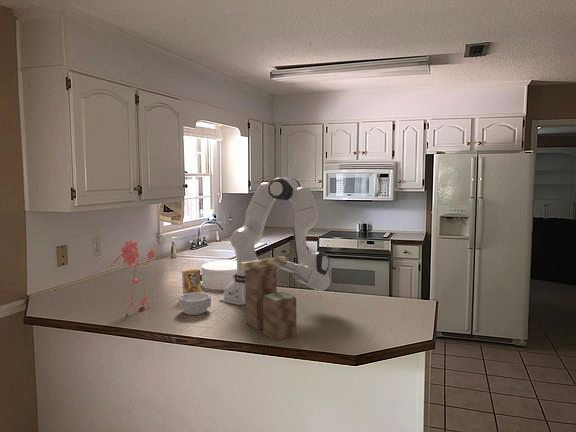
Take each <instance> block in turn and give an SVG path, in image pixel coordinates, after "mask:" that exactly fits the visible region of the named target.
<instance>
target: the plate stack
mask: <svg viewBox="0 0 576 432" xmlns="http://www.w3.org/2000/svg"><path fill="white" fill-rule="evenodd" d="M200 268H201V269H200V270H201V282H202V283H201V287H203V288H205V289H206V290H207V289H208V290H213V291H217V290H218V291H224V290H225V288H226V287H227V286H228V285H229V284H231V283H232V282H233V281H234V279H235V277H234V275H235V274H237V259H235V260H234V259H233V260H232V259H226V260H225V259H224V260H215V261H214V260H213V261H209V262H206V263H203V264H201V266H200ZM233 277H234V278H233Z"/></svg>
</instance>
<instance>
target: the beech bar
mask: <svg viewBox="0 0 576 432" xmlns="http://www.w3.org/2000/svg"><path fill="white" fill-rule="evenodd" d="M286 261H288V257H287V256H285V255H282V256H274V257H268V258H263V259H262V258H261V259H258V260H253V261H246V262H240V266H241V270H250V269H256V268H263V267H269V266H273V267H276V265H282V264H285V262H286Z"/></svg>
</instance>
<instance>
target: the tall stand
mask: <svg viewBox="0 0 576 432" xmlns="http://www.w3.org/2000/svg"><path fill="white" fill-rule="evenodd" d="M245 292H246V304H245V316H246V317H245V323H246V325H248V326H250V327H252V328H254V330H257V331H259V330H262V329H263V296H264V295H267V294H272V293H277V266H269V267H263V268H256V269H250V270H245Z"/></svg>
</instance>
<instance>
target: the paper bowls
mask: <svg viewBox="0 0 576 432" xmlns="http://www.w3.org/2000/svg"><path fill="white" fill-rule="evenodd" d="M211 304H212V296H211V295H210V294H209V293H206V292H201V293H198V292H197V293H187V294H183V293H182V294H181V295H180V296H178V307H179V309H180V310H183V313H184V314H186V315H191V316H197V315H203V314H204V313H206V312H207V310H208V309H209V308H211V306H212V305H211Z"/></svg>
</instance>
